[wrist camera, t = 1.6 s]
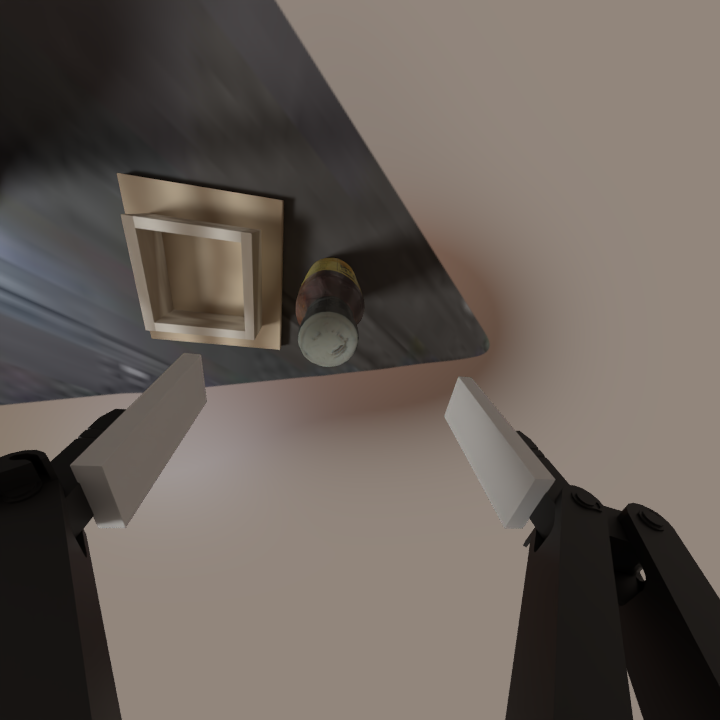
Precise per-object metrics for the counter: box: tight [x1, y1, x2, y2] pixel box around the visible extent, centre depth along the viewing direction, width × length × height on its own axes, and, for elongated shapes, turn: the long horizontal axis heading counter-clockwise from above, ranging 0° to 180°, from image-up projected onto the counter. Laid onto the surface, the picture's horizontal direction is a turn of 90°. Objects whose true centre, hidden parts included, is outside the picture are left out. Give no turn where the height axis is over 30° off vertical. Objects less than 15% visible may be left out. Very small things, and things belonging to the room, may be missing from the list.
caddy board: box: [117, 173, 284, 350], centre depth 32 cm, size 16×18×6 cm
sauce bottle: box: [296, 258, 364, 367], centre depth 27 cm, size 7×6×20 cm
